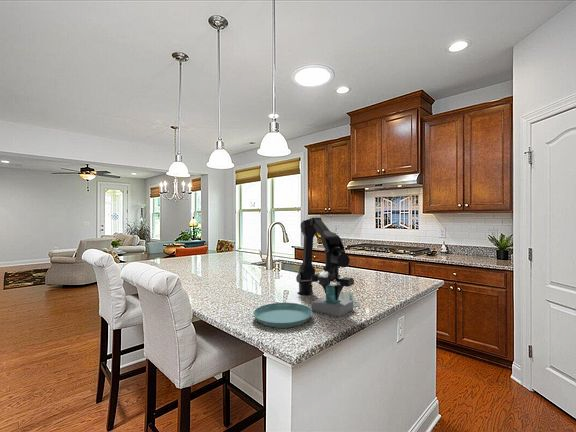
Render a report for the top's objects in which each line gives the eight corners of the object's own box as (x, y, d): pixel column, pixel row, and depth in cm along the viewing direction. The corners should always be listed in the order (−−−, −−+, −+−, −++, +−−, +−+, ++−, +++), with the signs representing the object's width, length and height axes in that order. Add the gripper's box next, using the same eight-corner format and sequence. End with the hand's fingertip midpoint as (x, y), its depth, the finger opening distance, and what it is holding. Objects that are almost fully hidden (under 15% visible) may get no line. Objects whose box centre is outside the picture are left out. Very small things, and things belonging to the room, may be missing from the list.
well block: (311, 310, 132) (311, 301, 132) (326, 304, 141) (325, 295, 141) (339, 317, 123) (339, 307, 123) (353, 309, 132) (353, 300, 132)
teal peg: (326, 304, 132) (325, 285, 132) (330, 301, 135) (330, 284, 135) (333, 305, 129) (333, 287, 129) (338, 303, 132) (338, 285, 132)
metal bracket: (326, 287, 151) (357, 288, 149) (326, 297, 152) (357, 298, 150) (326, 303, 137) (359, 304, 135) (326, 314, 139) (359, 316, 137)
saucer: (241, 321, 121) (240, 312, 121) (280, 306, 140) (280, 299, 140) (286, 336, 106) (286, 326, 106) (324, 317, 124) (324, 309, 124)
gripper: (304, 264, 132) (304, 299, 132) (342, 268, 120) (342, 307, 120) (317, 261, 140) (318, 294, 140) (354, 264, 129) (354, 301, 129)
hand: (332, 299), depth 132 cm, fingers closed on teal peg, 4 cm apart
